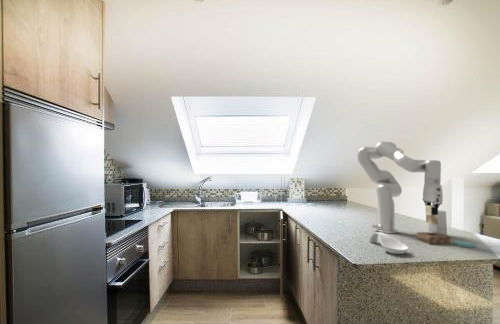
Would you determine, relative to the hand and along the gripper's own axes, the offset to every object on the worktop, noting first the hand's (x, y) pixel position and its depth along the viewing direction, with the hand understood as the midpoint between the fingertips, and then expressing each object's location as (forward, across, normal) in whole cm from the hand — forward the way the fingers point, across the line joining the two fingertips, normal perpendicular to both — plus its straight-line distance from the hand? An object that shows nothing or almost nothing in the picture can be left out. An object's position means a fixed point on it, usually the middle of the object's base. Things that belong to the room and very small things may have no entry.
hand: (431, 213), depth 149 cm
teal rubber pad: (+15, -8, -13) cm, 22 cm away
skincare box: (+16, +13, -14) cm, 25 cm away
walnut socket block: (+16, -1, -1) cm, 16 cm away
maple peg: (+6, 0, 0) cm, 6 cm away
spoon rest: (+17, -13, +33) cm, 40 cm away
